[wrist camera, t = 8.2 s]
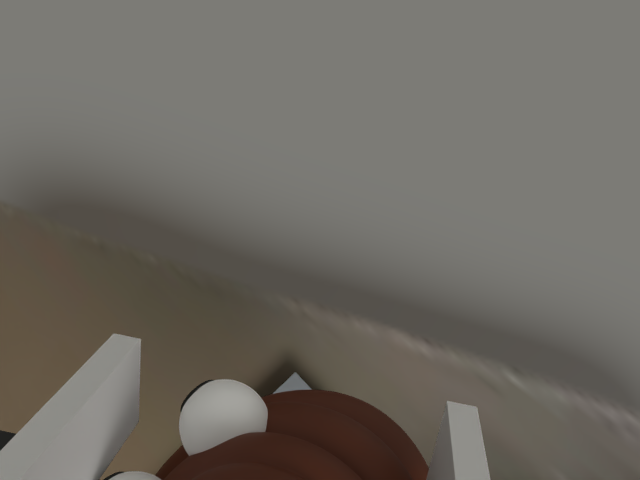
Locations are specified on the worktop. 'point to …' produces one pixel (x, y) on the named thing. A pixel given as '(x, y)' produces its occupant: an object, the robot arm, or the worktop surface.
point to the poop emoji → (285, 438)
